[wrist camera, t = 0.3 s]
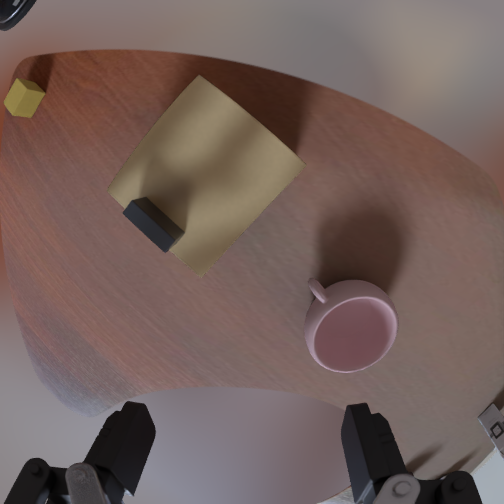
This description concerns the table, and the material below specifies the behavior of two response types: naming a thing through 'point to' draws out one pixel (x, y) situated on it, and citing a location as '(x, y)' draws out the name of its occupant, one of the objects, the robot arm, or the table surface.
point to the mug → (349, 325)
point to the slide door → (202, 175)
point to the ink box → (494, 427)
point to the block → (24, 98)
